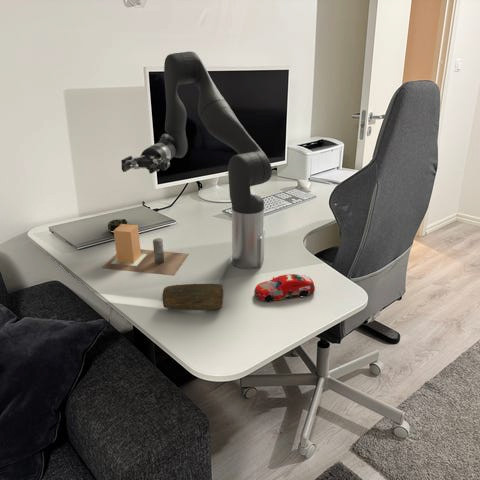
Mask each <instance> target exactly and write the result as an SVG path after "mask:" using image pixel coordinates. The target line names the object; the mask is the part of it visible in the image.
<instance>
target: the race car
mask: <svg viewBox="0 0 480 480" xmlns="http://www.w3.org/2000/svg"><path fill="white" fill-rule="evenodd" d="M315 290H316V287H315V284H314V281H313V279H312V278H311V277H310V276H308V275H305V274H298V273H297V274H296V273H289V274H283V275H278V276H276V277H275V276H273V277H272V279H270V280H266V281H263V282H260V283H258V284H257V285H256V286H255V288H254V291H253V293H254V297H255V298H257V300H259V301H262V302H264V301H265V302H266V303H267V302H268V303H271V302H270V301H272V302H273V301H281V300H282V301H283V300H287V299H295V297H296V298H302V297H301V296H306V297H308V296H311V295H312V294H314V293H315Z"/></svg>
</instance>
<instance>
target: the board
mask: <svg viewBox="0 0 480 480" xmlns="http://www.w3.org/2000/svg"><path fill="white" fill-rule="evenodd" d="M152 245H153V246H152V247H153V250H152V249H151V250H150V249H142V248H140V251H141V256H140V257H139V258H138V259H137V261H136V262H135V263H126V262H117V254H116V253H115V254H114V255H113V256H112V257H111V258H110V259H109V260H108V261H107V262H106V263H105V264H104V265H103V266H102V267H101V269H107V270H117V271H125V272H126V271H127V272H138V273H146V274H157V275H165V276H175V275H176V274H177V272H178V271H179V269H180V268H181V267H182V265H183V264H184V262H185V261H186V259H187V258H188V256H189V255H190V253H183V252H174V251H164V241H163V239H162V238H159V237H158V238H154V239H152Z"/></svg>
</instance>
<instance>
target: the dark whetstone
mask: <svg viewBox="0 0 480 480" xmlns="http://www.w3.org/2000/svg"><path fill="white" fill-rule="evenodd" d="M223 300H224V286H223V285H222V284H221V283H187V284H186V283H183V284H173V285H169V286H166V287H164V288H163V290H162V306H163V307H164V308H166V309H169V310H175V311H176V310H177V311H182V310H183V311H194V310H195V311H203V310H204V311H205V310H207V311H208V310H216V309H221V308H222V306H223V302H224V301H223Z"/></svg>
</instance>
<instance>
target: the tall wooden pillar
mask: <svg viewBox="0 0 480 480" xmlns="http://www.w3.org/2000/svg"><path fill="white" fill-rule="evenodd" d="M113 236H114V245H115V254H117V262H126V263H135V262H136V261H137V259H138V258H139V257H140V256H141V251H140V249H141V242H140V233H139V225H138V224H128V223H127V224H121V225H120V226H118V227H117V228H116V229H115V230H114V234H113Z"/></svg>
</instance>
